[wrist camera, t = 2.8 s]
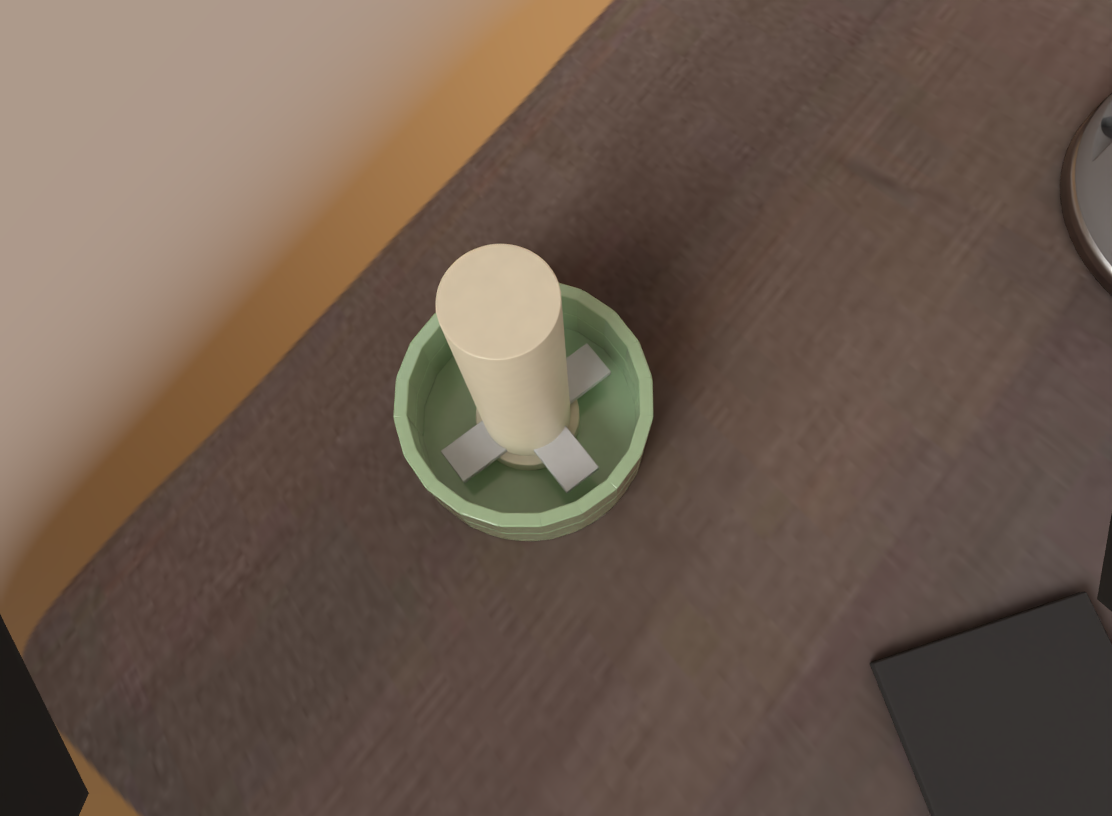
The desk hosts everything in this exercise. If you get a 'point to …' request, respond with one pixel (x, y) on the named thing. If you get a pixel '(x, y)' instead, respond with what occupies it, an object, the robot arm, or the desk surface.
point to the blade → (515, 365)
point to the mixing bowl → (530, 496)
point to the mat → (1009, 714)
